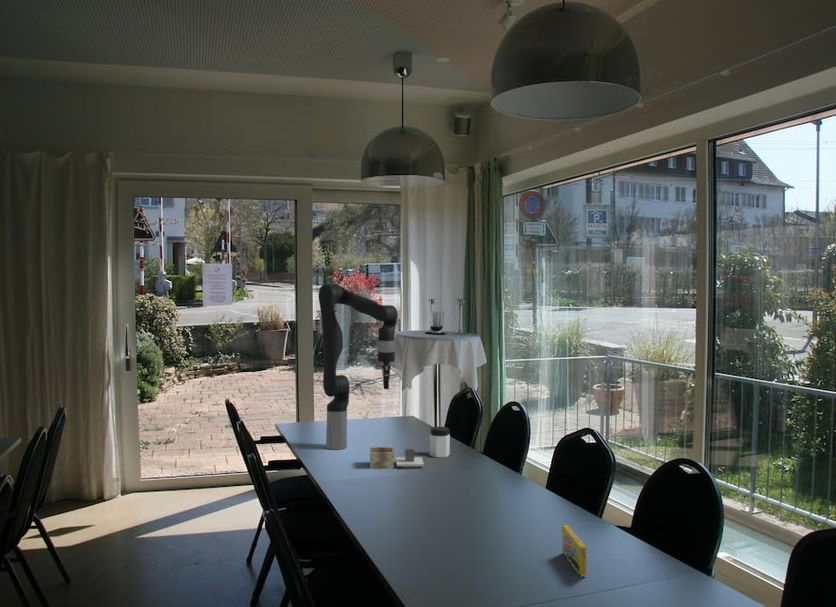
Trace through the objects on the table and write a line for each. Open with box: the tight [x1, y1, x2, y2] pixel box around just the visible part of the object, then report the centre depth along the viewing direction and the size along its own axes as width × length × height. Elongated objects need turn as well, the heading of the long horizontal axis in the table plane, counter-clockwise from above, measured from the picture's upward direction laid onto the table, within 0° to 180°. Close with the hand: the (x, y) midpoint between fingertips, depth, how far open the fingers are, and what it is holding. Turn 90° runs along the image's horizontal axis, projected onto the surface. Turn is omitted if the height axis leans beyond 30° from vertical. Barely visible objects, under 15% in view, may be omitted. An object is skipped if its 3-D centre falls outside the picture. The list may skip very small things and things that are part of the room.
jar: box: [429, 426, 451, 458], centre depth 307 cm, size 9×8×12 cm
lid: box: [395, 447, 425, 467], centre depth 288 cm, size 11×11×7 cm
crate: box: [369, 446, 395, 470], centre depth 288 cm, size 10×10×7 cm
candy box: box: [561, 524, 587, 575], centre depth 190 cm, size 16×2×8 cm, turn 5°
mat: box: [396, 465, 424, 470], centre depth 289 cm, size 10×13×1 cm
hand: (385, 387), depth 306 cm, fingers open, 8 cm apart
